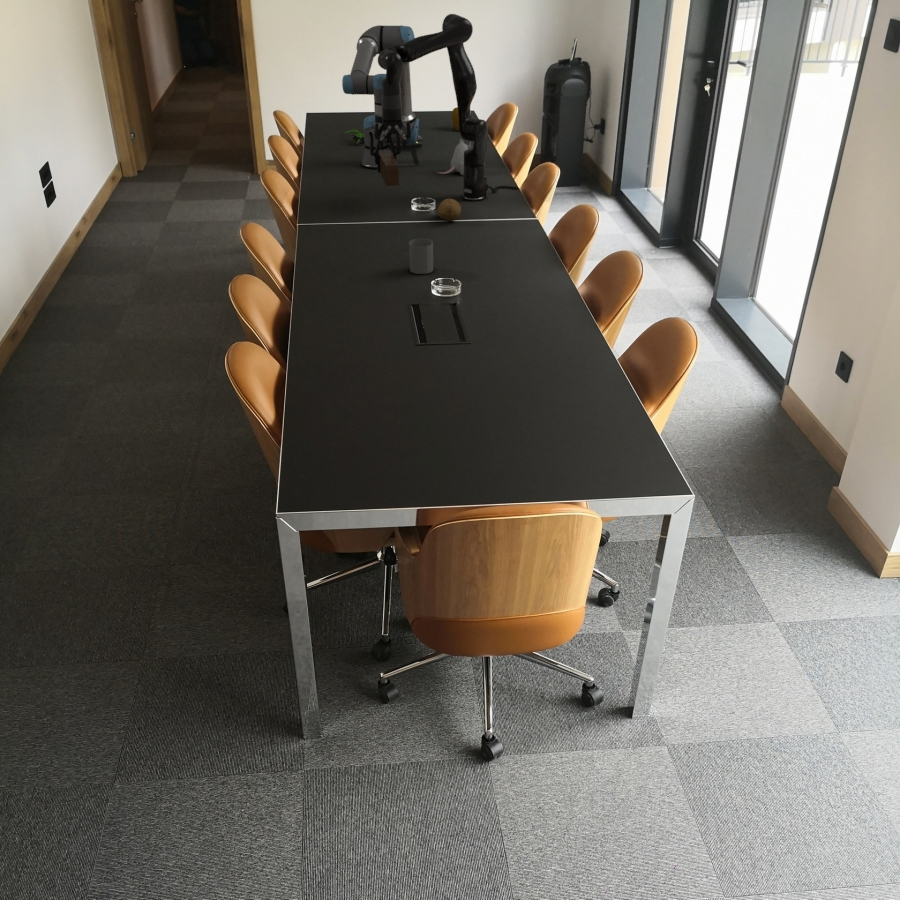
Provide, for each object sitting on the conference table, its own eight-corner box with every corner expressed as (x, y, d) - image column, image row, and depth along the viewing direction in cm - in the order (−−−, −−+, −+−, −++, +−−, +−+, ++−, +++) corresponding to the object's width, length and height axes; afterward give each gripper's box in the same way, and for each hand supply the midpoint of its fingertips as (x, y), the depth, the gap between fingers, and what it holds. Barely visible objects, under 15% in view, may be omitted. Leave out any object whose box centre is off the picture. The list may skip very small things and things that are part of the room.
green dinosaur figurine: (399, 126, 467) (343, 124, 465) (399, 141, 460) (342, 139, 458) (399, 136, 472) (343, 133, 470) (399, 151, 465) (342, 149, 463)
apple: (471, 132, 486) (471, 108, 479) (451, 132, 486) (451, 108, 479) (470, 128, 495) (471, 104, 488) (452, 128, 495) (452, 104, 488)
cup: (409, 265, 311) (408, 238, 306) (432, 265, 312) (431, 238, 307) (410, 274, 304) (409, 246, 299) (433, 273, 305) (433, 246, 299)
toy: (478, 172, 417) (478, 139, 409) (444, 182, 402) (444, 148, 394) (464, 168, 422) (464, 136, 414) (430, 178, 407) (430, 145, 399)
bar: (378, 170, 376) (377, 150, 371) (391, 170, 376) (390, 150, 372) (386, 186, 356) (385, 165, 352) (399, 185, 357) (398, 164, 353)
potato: (459, 214, 362) (459, 195, 357) (462, 225, 350) (462, 205, 346) (436, 214, 361) (436, 195, 357) (438, 225, 349) (438, 205, 345)
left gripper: (362, 117, 356) (365, 174, 368) (407, 115, 359) (408, 172, 371) (360, 113, 362) (363, 170, 374) (404, 111, 365) (405, 167, 377)
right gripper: (374, 109, 332) (376, 152, 341) (411, 107, 334) (412, 151, 343) (372, 105, 338) (374, 148, 347) (408, 104, 340) (409, 146, 349)
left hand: (386, 171), depth 373 cm, fingers closed on bar, 5 cm apart
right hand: (393, 149), depth 345 cm, fingers open, 8 cm apart
